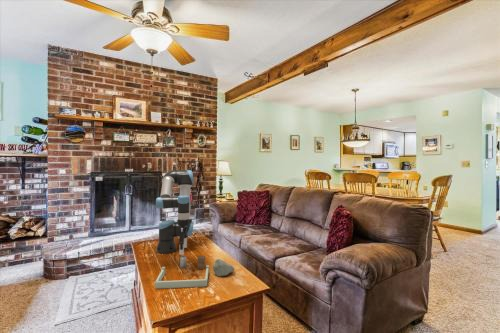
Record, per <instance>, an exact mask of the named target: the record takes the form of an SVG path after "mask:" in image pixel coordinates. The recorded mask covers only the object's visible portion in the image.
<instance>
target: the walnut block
mask: <svg viewBox="0 0 500 333" xmlns="http://www.w3.org/2000/svg"><path fill="white" fill-rule="evenodd" d="M203 269H205V270H206V255H198V256H197V270H203Z"/></svg>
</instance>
